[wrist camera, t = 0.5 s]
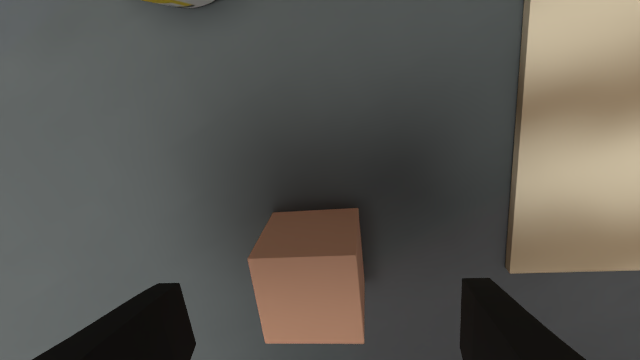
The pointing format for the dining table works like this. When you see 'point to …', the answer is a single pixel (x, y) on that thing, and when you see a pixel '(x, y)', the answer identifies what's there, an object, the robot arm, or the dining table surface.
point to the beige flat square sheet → (577, 139)
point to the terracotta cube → (310, 277)
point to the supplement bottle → (182, 3)
